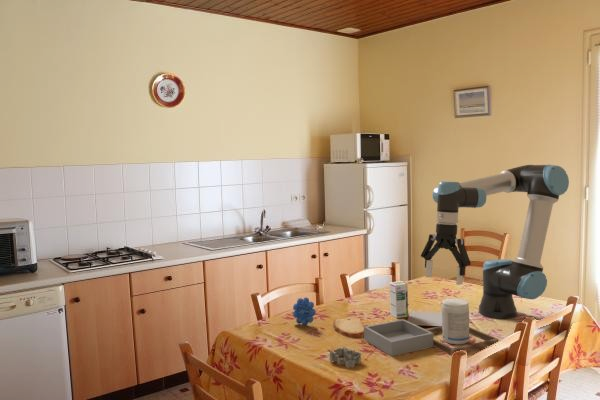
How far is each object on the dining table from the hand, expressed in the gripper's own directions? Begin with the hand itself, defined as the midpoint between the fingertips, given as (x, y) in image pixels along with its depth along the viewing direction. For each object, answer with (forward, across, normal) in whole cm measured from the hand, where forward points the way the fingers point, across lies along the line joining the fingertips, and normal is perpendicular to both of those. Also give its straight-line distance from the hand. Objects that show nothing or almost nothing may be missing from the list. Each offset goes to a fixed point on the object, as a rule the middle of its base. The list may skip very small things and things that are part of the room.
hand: (443, 280), depth 189 cm
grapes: (+25, -47, -26) cm, 60 cm away
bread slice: (+25, -31, -16) cm, 43 cm away
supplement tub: (+22, +4, +3) cm, 23 cm away
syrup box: (+22, -29, +10) cm, 38 cm away
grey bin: (+23, -8, -14) cm, 29 cm away
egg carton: (+26, -9, -40) cm, 48 cm away
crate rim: (+22, +4, +3) cm, 23 cm away
